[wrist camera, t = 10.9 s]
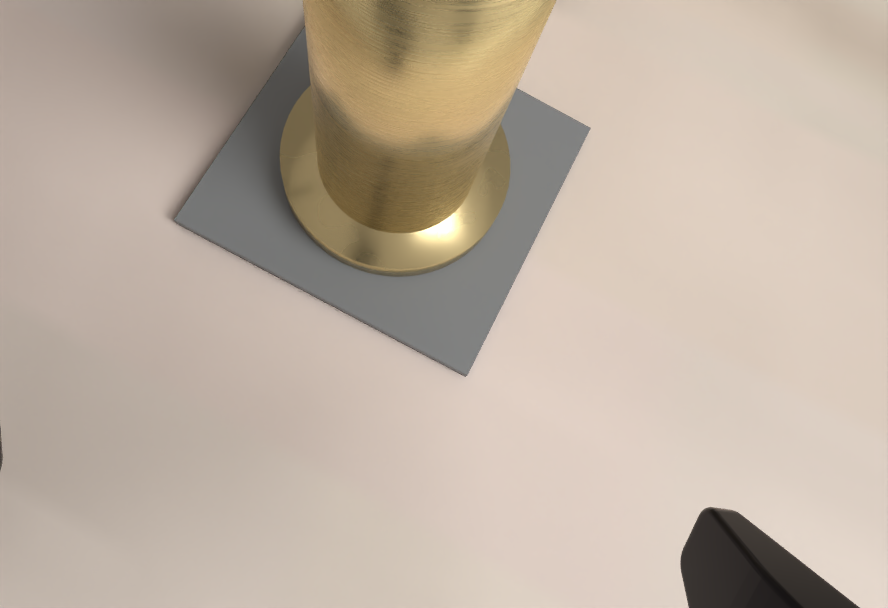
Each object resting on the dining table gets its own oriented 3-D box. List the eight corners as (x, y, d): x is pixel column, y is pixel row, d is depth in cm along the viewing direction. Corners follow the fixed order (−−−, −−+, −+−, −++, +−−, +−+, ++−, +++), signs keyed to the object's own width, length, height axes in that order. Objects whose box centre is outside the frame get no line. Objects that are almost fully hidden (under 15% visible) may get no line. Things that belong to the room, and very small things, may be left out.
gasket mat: (465, 376, 19) (467, 375, 19) (176, 223, 19) (173, 219, 19) (587, 132, 21) (590, 128, 21) (330, -6, 21) (330, -13, 21)
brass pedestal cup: (443, 317, 19) (593, 89, 8) (238, 207, 19) (73, -193, 7) (539, 135, 21) (781, -279, 9) (351, 33, 21) (360, -514, 9)
